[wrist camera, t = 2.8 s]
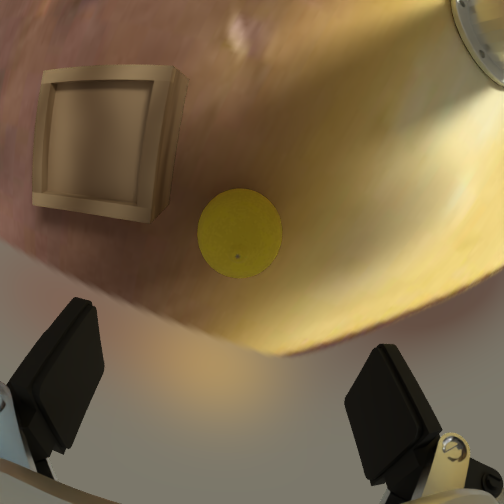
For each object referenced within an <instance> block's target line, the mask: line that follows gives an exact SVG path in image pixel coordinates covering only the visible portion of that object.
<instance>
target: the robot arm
mask: <svg viewBox="0 0 504 504" xmlns="http://www.w3.org/2000/svg"><path fill="white" fill-rule="evenodd" d="M451 7H452V13H453V17H454V20H455V24H456V26H457V29H458V31H459V34H460V36H461V38H462V40H463V42H464V44H465V46H466V47H467V49H468V51H469V52H470V54H471V56H472V57H473V59H474V60H475V61H476V63H477V64H478V66H479V67H480V68H481V69H482V70H483V71H484V72H485V74H486V75H488V76H489V77H490V78H491V79H492V80H493V81H495V82H496V83H498V84H499V85H501V86H504V0H451ZM103 372H104V360H103V354H102V347H101V341H100V334H99V326H98V318H97V310H96V307H95V306H92V302H91V301H89V300H85V299H81V298H78V297H75V298H73V299H72V300H71V301H70V303H69V304H68V305H67V306H66V307H65V309H64V310H63V311H62V312H61V313H60V315H59V316H58V317H57V318H56V320H55V321H54V322H53V323H52V325H51V326H50V327H49V328H48V330H46V331H45V332H44V333H43V335H42V336H41V337H40V339H39V340H38V341H37V343H36V344H35V345H34V347H33V348H32V349H31V351H30V352H29V353H28V355H27V356H26V357H25V359H24V360H23V362H22V363H21V364H20V366H19V367H18V369H17V370H16V372H15V373H14V374H13V376H12V377H11V379H10V380H9V382H8V383H7V385H5V384H4V383H2V382H1V381H0V504H120V503H117V502H113V501H110V500H107V499H104V498H101V497H98V496H94V495H91V494H88V493H86V492H83V491H80V490H78V489H75V488H72V487H70V486H67V485H65V484H62V483H60V482H59V481H58V479H57V477H56V474H55V472H54V470H53V467H52V465H51V462H50V459H49V457H50V454H51V452H52V450H54V451H56V452H59V453H61V454H63V455H64V452H65V450H66V448H68V449H69V448H71V446H72V444H73V442H74V439H75V437H76V434H77V432H78V429H79V427H80V424H81V422H82V420H83V417H84V415H85V413H86V410H87V408H88V406H89V404H90V401H91V399H92V397H93V395H94V392H95V390H96V388H97V386H98V384H99V381H100V379H101V377H102V375H103ZM344 405H345V408H346V412H347V415H348V418H349V421H350V425H351V428H352V431H353V434H354V438H355V441H356V445H357V448H358V451H359V455H360V459H361V462H362V466H363V469H364V473H365V476H366V478H367V479H368V480H370V483H371V486H374V485H379V484H384V483H385V482H386V484H387V489H386V491H385V493H384V495H383V497H382V499H381V501H380V503H379V504H504V488H503V480H502V477H501V476H500V474H499V473H498V472H497V471H496V470H494V469H493V468H491V467H488V466H486V465H484V464H482V463H480V462H478V461H476V460H474V459H472V458H470V448H469V445H468V443H467V442H466V440H465V439H464V438H463V437H461V436H460V435H458V434H455V433H446V434H444V435H443V436H442V437H440V435H439V433H440V432H441V431H442V428H441V426H440V424H439V422H438V420H437V418H436V416H435V414H434V412H433V410H432V409H431V407H430V405H429V403H428V401H427V399H426V398H425V395H424V394H423V392H422V390H421V388H420V386H419V384H418V383H417V381H416V379H415V377H414V376H413V374H412V372H411V370H410V369H409V367H408V365H407V363H406V362H405V360H404V359H403V357H402V355H401V353H400V351H399V350H398V348H397V347H396V345H394V344H379V345H378V346H377V347H376V348H374V349H373V350H372V352H371V353H370V355H369V357H368V359H367V361H366V363H365V364H364V366H363V368H362V370H361V372H360V373H359V375H358V377H357V379H356V380H355V382H354V384H353V386H352V387H351V389H350V391H349V392H348V394H347V395H346V397H345V401H344Z"/></svg>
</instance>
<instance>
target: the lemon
mask: <svg viewBox="0 0 504 504" xmlns="http://www.w3.org/2000/svg"><path fill="white" fill-rule="evenodd" d="M197 238H198V244H199V249H200V251H201V253H202V255H203V257H204V259H205V260H206V262H207V263H208V264H209V265H210V266H211V267H212V268H213V269H214V270H216V271H217V272H218V273H220V274H222V275H225V276H227V277H232V278H247V277H251V276H255V275H257V274H259V273H260V272H262V271H264V270H265V269H266V268H267V267H268V266H269V265H270V264H271V263H272V262H273V260H274V259H275V257H276V256H277V254H278V251H279V248H280V246H281V242H282V225H281V220H280V216H279V214H278V212H277V210H276V208H275V207H274V206H273V204H272V203H271V202H270V201H269V200H268V199H267V198H266V197H264V196H263V195H261V194H260V193H258V192H255V191H253V190H250V189H241V188H237V189H231V190H227V191H225V192H222V193H220V194H218V195H217V196H216V197H214V198H213V199H212V200H211V201H210V202H209V203H208V204H207V206H206V207H205V208H204V210H203V211H202V214H201V216H200V219H199V222H198V230H197Z"/></svg>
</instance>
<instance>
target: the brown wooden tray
mask: <svg viewBox="0 0 504 504" xmlns="http://www.w3.org/2000/svg"><path fill="white" fill-rule="evenodd" d="M188 82H189V78H187V77H186V76H185V75H184V74H183V73H181V72H180V71H179V70H178V69H177V68H175V67H174V66H166V65H96V66H82V67H70V68H61V69H53V70H46V71H44V72H43V76H42V82H41V87H40V93H39V99H38V106H37V114H36V123H35V133H34V145H33V166H32V202H33V205H35V206H42V207H48V208H55V209H61V210H68V211H74V212H80V213H86V214H93V215H99V216H105V217H111V218H118V219H124V220H130V221H136V222H142V223H148V224H150V223H151V222H152V221H153V220H154V219H155V218H156V217H157V216H158V215H159V214H160V213H161V212H162V211H163V210H164V209H165V208H166V207H167V206H168V205H169V200H170V191H171V183H172V175H173V168H174V161H175V154H176V148H177V142H178V135H179V129H180V124H181V118H182V113H183V107H184V102H185V97H186V92H187V87H188Z"/></svg>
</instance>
